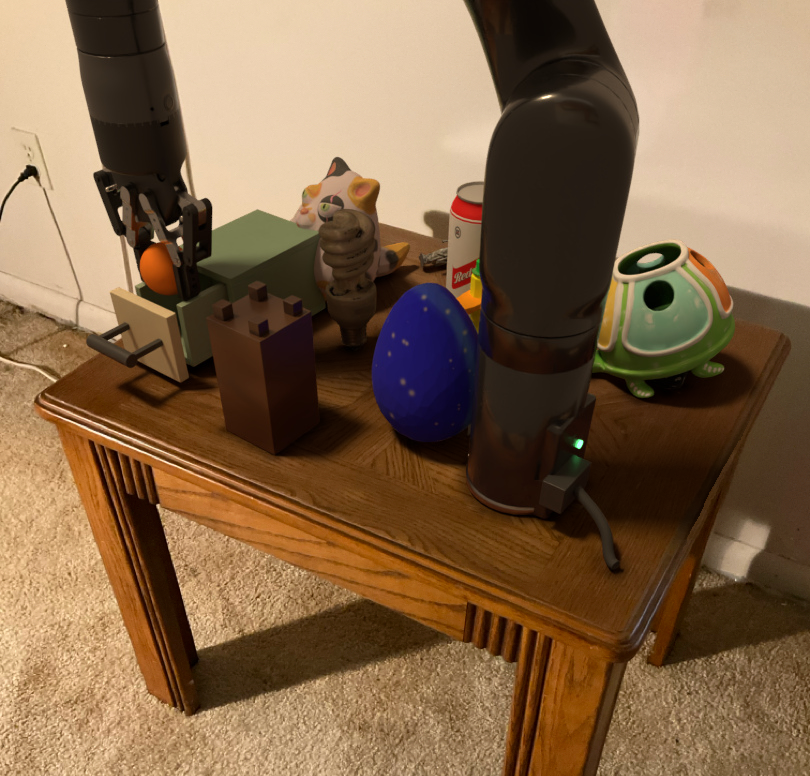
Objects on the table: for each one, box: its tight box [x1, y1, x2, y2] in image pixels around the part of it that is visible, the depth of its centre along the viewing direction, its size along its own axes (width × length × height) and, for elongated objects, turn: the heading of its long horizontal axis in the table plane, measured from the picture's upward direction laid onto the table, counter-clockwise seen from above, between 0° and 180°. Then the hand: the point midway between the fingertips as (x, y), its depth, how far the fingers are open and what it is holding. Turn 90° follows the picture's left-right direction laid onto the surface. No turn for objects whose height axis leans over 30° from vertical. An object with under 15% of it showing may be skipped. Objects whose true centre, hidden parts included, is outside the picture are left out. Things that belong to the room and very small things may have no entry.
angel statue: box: [418, 239, 448, 269], centre depth 103 cm, size 4×8×4 cm
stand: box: [206, 281, 321, 456], centre depth 74 cm, size 6×6×13 cm
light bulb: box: [318, 209, 377, 351], centre depth 84 cm, size 6×6×15 cm
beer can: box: [445, 180, 484, 319], centre depth 85 cm, size 6×6×16 cm
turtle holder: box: [592, 238, 736, 399], centre depth 82 cm, size 12×18×12 cm
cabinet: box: [178, 208, 327, 317], centre depth 90 cm, size 14×10×9 cm
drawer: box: [85, 272, 229, 383], centre depth 84 cm, size 17×8×7 cm, turn 143°
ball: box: [140, 241, 183, 295], centre depth 80 cm, size 5×5×5 cm
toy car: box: [650, 370, 690, 391], centre depth 86 cm, size 8×3×2 cm, turn 151°
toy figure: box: [456, 259, 482, 332], centre depth 82 cm, size 7×4×12 cm, turn 137°
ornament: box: [371, 282, 478, 443], centre depth 74 cm, size 11×9×15 cm
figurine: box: [289, 156, 411, 302], centre depth 95 cm, size 12×17×15 cm
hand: (171, 288), depth 82 cm, fingers closed on ball, 5 cm apart
